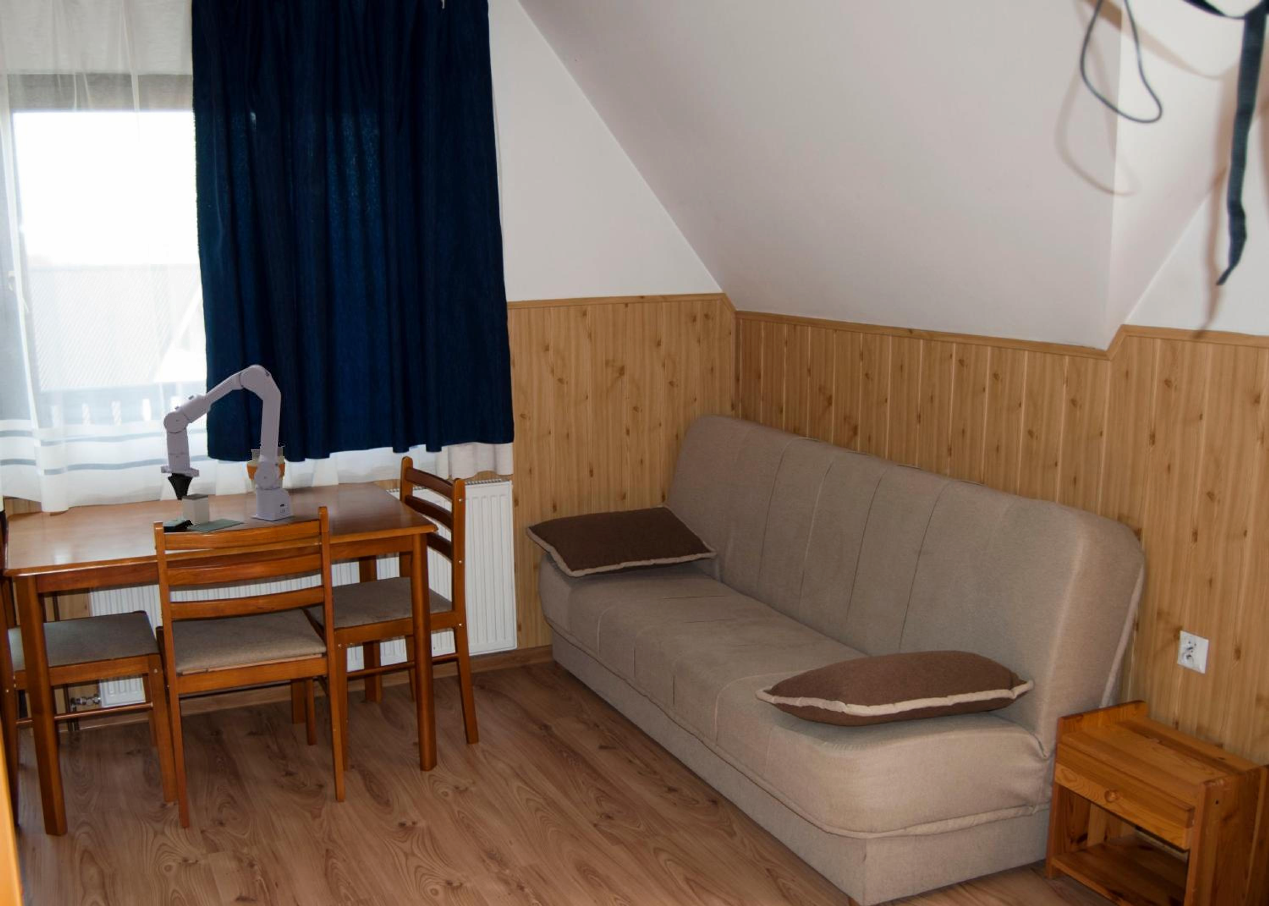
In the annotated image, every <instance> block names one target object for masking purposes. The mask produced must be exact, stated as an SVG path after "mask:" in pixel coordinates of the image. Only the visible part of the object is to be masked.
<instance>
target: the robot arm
mask: <svg viewBox="0 0 1269 906" xmlns="http://www.w3.org/2000/svg"><path fill="white" fill-rule="evenodd" d="M244 388H245V389H247V390H249V391H250V392H253V393H255V395H257V397H259V398H260V399H261V400H262V417H261V433H260V444H261V446H260V457H259V462H258V468H257V470H256V472H255V474H254V480H255V483H256V484H257V485H255V491H256V494H255V502H256V514H252V515H250V518H253V519H259V520H265V521H278V520H281V519H285V518H289V517H292V516H294V514H293V513H292V511H291V498H290V493H289V491H288V490H287V489H285V488H283V486H282V487H281V483H280V482H279V481H278V480H277V479H278V478H279V477H280V473H281V472H280V468H279V466H278V456H277V448H278V443H279V432H280V430H279V429H280V428H279V427H280V418H281V417H280V414H281V413H280V412H281V399H282V395H281V392H280V389H279V388H278V386H277V384H276V382H275V381H274V379H273V377H272V373H270V372H269V371H268V370H267V369H266V368H265V367H263V366H262V365H259V364H253V365H250V366H249V367H247V368H245V369H243V370H241V371H237V372H236V373H234V374H233V375H230V376H229V377H228V378H226V379H225V380H223V381H222V382H221V383H219V384H217V385H216V386H215V387H214V388H212V389H211V390H210V391H208V392H207V393H205V394H204V395H203V394H195V395H191V396H189V397H188V400H187V401H185V402H184V403H183V404H181V405H180V406H179V405H177V406H175V407H174V409H175V410H172V411H171V412H168V413H167V414H166V415H165V417H164V418H163V421H162V422H163V426H164V429H165V430H166V447H167V450H166V451H167V461H168V462H167V463H168V465H163V466H162V465H161V466H160V473H161V474H170V475H169V476H167V480H168V482H169V484H170V485H171V486H172V488H173V492H174V493H175V496H176V500H177V501H182V496H187V495H188V492H189V488H190V485H191V482H192V481H193V479H194V478H198V477H200V470H199V469H196V468H195V467H194V468H193V467H191V460H190V447H189V436H188V426H189V424H193V423H194V422H195V421H197V420H199V419H200V418H201V417H203V416H205V415H206V414H207V413H209V412H210V411H211V405H212V404H213V403H215V402H216V401H218V400H219V399H221V398H222V397H224V396H225V395H227V394H229V393H230V392H232V390H233V391H234V390H242V389H244Z"/></svg>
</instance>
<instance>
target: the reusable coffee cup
mask: <svg viewBox="0 0 1269 906" xmlns="http://www.w3.org/2000/svg"><path fill="white" fill-rule="evenodd" d="M283 447H285V445H284V446H281V447H278V448H277V456H278V466H279V468H280V472H281V473H280V477H279V478H278V479H277V480H278V481H279V482H280V483H281V487H282V488H283V486H284V485H283V483H284V476H285V471H286V462H285V456H283ZM251 452H252V460H250V461H249V462H247V461H246V469H247V475H248V478H249V479H250V484H251V489H252V492H253V494H254V495H256V491H255V485H257V484H256V483H255V480H254V474H255V472H256V470H257V468H258V462H259V457H260V449H251Z"/></svg>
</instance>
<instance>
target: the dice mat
mask: <svg viewBox="0 0 1269 906" xmlns="http://www.w3.org/2000/svg"><path fill="white" fill-rule="evenodd" d="M244 523H245V522H244V521H239V520H233V519H228V518H227V519H226V518H219V519H215V520H212V521H211V520H210V522H206V523H202V524H197V525H188V526H186V527H187V529H186V530H190V531H195V532H200V531H210V532H213V531H217V530H221V529H225V528H230V527H233V526H234V527H235V526H239V525H242V524H244Z"/></svg>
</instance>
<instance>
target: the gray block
mask: <svg viewBox="0 0 1269 906" xmlns="http://www.w3.org/2000/svg"><path fill="white" fill-rule="evenodd" d="M181 501H182V513H183V514H182V515H183V520H184V519H188V520H190V521H191V523H192V524H193V525H197V524H202V523H206V522H210V521H211V515H210V514H211V513H210V501H209V494H205V493H198V492H197V493H192V494H187V496H182V500H181ZM193 525H192V526H193Z"/></svg>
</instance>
